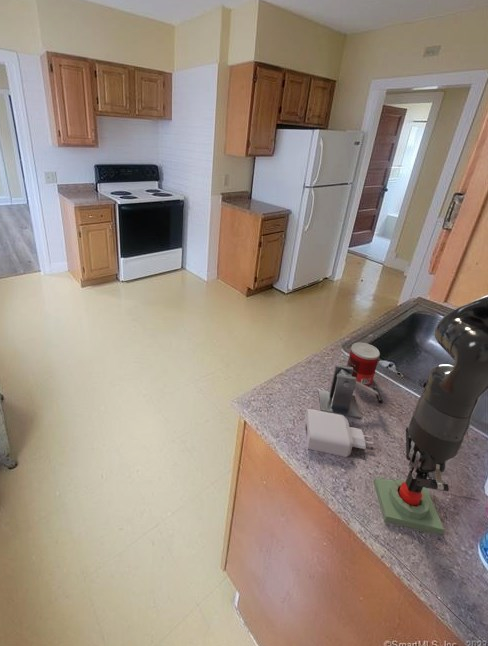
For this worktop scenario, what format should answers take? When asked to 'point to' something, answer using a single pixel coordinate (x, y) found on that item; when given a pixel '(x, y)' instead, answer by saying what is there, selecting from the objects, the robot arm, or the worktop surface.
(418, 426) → the robot arm
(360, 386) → the tap lever
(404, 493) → the button
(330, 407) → the tap bracket
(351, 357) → the canned food
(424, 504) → the button box
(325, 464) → the worktop surface
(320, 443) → the charger
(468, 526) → the worktop surface
